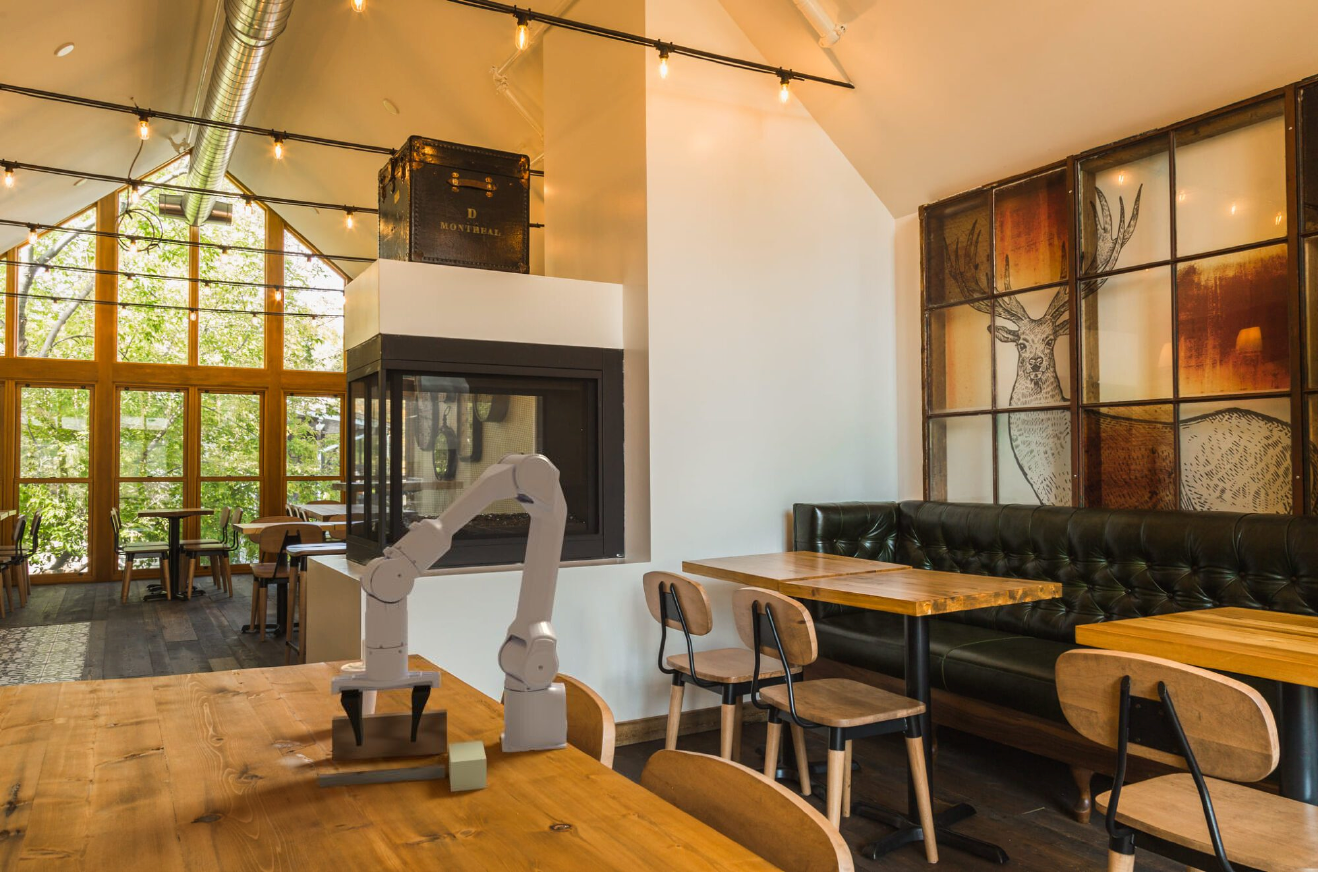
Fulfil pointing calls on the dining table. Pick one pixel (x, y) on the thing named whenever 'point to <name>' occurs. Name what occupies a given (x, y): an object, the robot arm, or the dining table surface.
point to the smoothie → (356, 669)
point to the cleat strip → (382, 776)
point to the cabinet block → (467, 766)
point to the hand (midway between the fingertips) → (387, 741)
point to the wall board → (390, 735)
